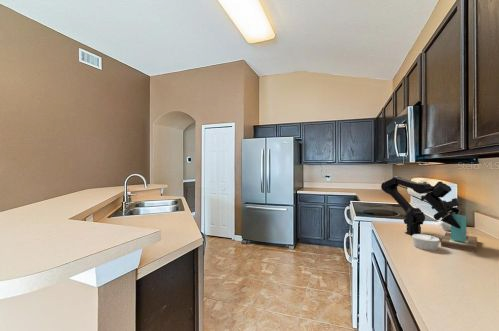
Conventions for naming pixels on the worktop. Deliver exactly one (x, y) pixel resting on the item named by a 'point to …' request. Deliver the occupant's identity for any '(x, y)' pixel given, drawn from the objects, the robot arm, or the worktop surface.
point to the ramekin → (425, 242)
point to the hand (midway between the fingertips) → (461, 227)
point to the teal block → (461, 232)
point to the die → (445, 226)
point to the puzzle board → (460, 243)
